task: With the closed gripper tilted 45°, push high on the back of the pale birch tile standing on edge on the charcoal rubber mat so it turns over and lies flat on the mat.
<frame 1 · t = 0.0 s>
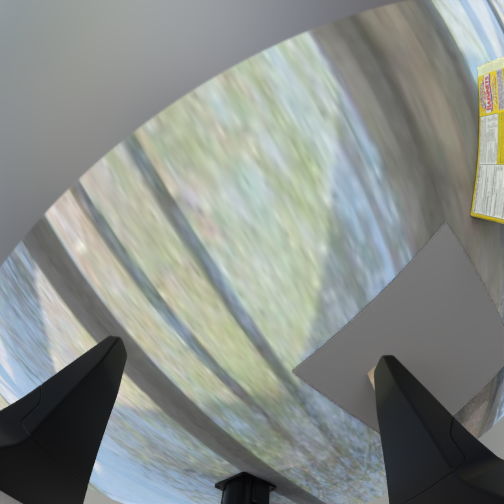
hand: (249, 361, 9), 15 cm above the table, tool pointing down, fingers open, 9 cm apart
mat: (430, 365, 26), on the table
candy box: (483, 138, 21), on the table
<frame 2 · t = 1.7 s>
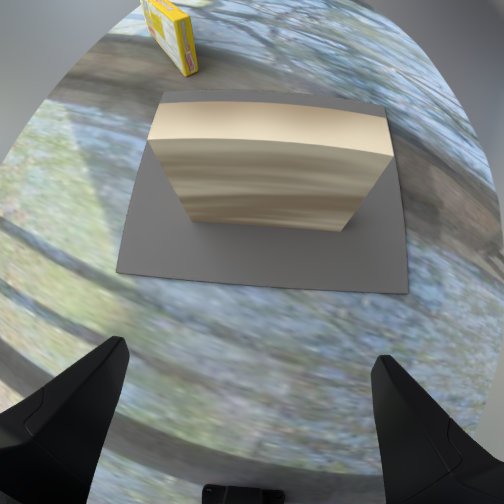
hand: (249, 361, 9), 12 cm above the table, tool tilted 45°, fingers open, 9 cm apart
mat: (269, 171, 25), on the table
birch tile: (267, 211, 24), resting on mat
candy box: (171, 48, 32), on the table
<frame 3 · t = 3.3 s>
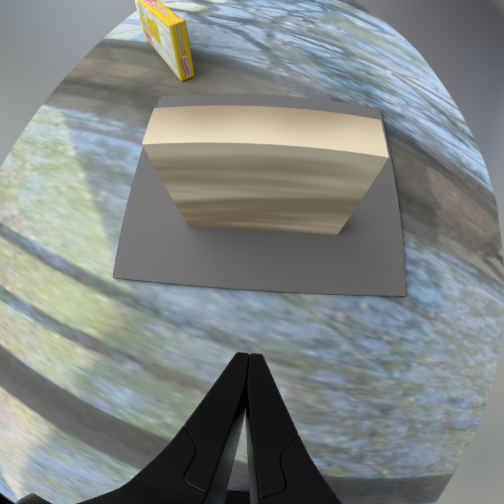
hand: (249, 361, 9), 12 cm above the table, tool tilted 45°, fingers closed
mat: (265, 175, 25), on the table
birch tile: (263, 215, 24), resting on mat
candy box: (167, 53, 32), on the table
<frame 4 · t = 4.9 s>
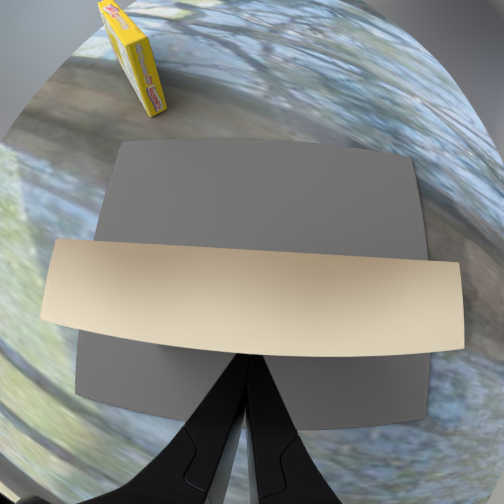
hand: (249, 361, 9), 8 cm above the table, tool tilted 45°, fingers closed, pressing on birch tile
mat: (258, 269, 19), on the table
birch tile: (254, 333, 17), resting on mat, touching gripper
candy box: (137, 76, 26), on the table
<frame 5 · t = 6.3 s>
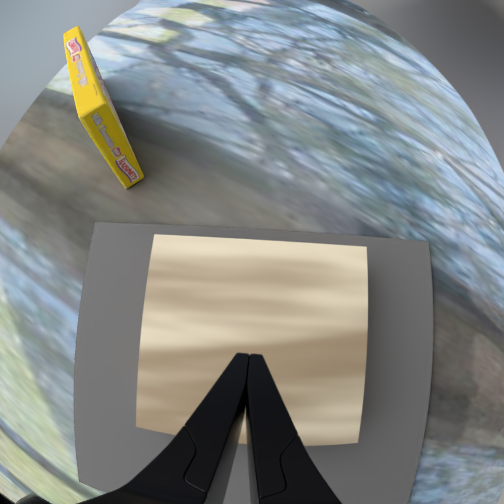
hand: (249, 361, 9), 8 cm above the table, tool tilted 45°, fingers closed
mat: (250, 390, 16), on the table
birch tile: (246, 436, 14), point 2 cm above the table, tilted 90°, touching mat
candy box: (112, 124, 23), on the table
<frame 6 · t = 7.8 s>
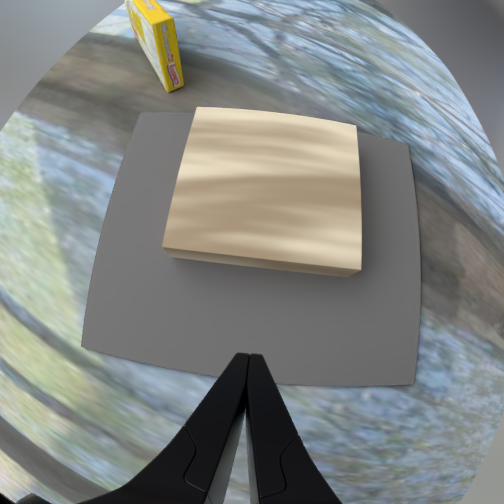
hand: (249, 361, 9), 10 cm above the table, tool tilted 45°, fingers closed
mat: (264, 231, 21), on the table
birch tile: (261, 263, 18), point 2 cm above the table, tilted 90°, touching mat
candy box: (155, 54, 26), on the table
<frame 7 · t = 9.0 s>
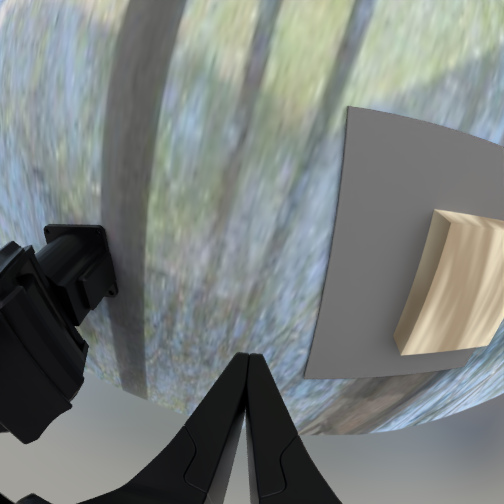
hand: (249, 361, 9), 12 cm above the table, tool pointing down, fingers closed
mat: (437, 278, 21), on the table
birch tile: (419, 289, 20), point 2 cm above the table, tilted 90°, touching mat
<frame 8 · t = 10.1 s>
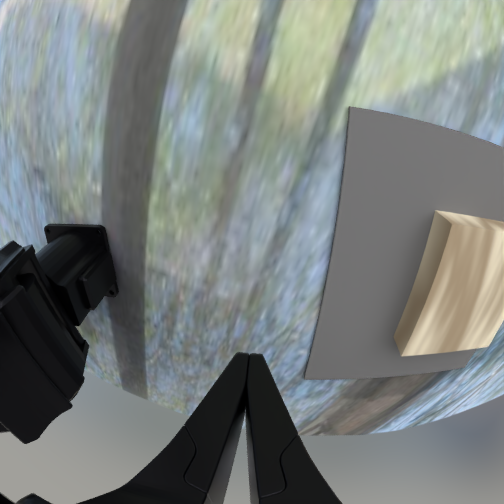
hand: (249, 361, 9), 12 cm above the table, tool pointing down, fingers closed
mat: (438, 279, 21), on the table
birch tile: (420, 290, 20), point 2 cm above the table, tilted 90°, touching mat
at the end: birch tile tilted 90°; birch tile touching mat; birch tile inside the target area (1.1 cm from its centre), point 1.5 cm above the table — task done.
